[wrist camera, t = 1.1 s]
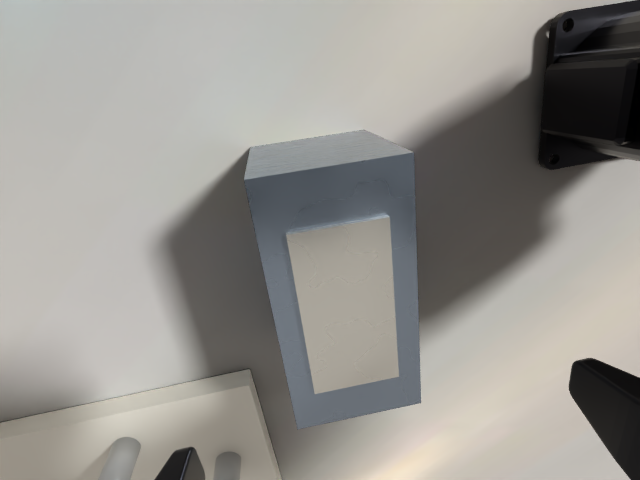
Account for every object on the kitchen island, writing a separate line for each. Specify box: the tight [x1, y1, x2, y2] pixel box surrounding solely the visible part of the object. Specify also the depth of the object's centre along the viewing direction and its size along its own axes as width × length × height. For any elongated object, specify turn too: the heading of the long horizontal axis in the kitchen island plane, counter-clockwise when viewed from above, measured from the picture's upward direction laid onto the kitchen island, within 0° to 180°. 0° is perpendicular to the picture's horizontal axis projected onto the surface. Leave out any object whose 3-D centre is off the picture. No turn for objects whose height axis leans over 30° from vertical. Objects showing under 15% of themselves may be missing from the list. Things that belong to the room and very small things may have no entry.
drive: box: [244, 130, 421, 429], centre depth 15 cm, size 5×10×6 cm, turn 8°
